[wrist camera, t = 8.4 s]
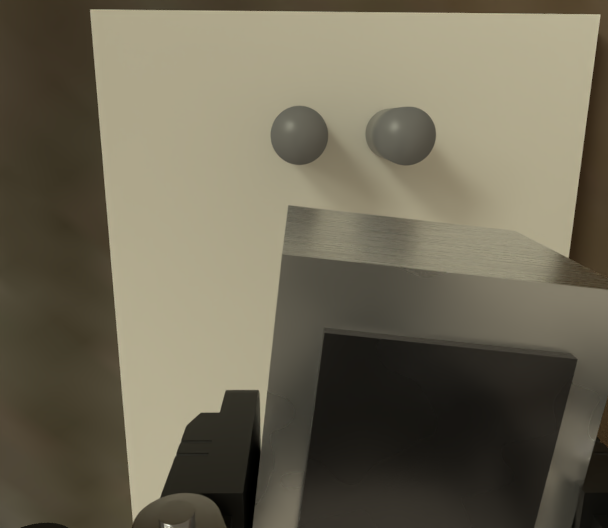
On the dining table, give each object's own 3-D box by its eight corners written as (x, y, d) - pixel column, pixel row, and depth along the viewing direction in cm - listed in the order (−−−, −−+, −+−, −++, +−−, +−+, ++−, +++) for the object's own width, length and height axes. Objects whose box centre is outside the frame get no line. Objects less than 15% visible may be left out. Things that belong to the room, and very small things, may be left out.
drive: (250, 552, 14) (227, 756, 10) (287, 205, 12) (281, 257, 7) (442, 569, 14) (508, 777, 10) (515, 231, 12) (644, 297, 8)
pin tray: (142, 531, 23) (111, 613, 19) (100, 15, 18) (48, -13, 14) (521, 529, 23) (565, 609, 20) (584, 19, 18) (661, -7, 15)
